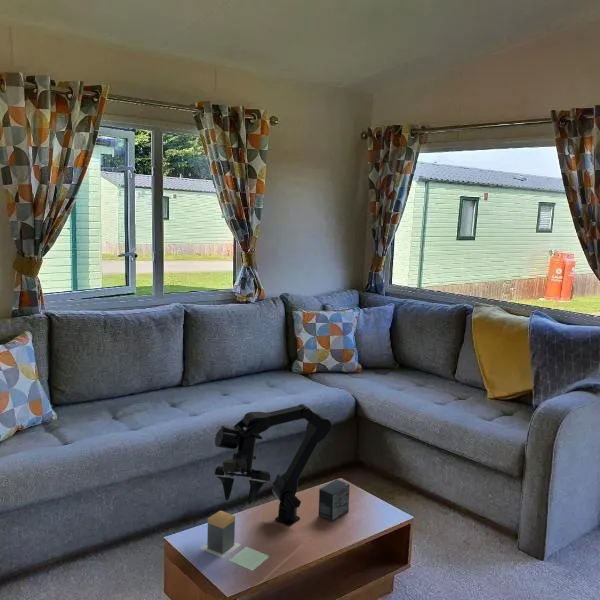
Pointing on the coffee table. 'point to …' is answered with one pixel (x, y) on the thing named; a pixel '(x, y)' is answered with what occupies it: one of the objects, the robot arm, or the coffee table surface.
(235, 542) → the stand
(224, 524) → the cover
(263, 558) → the stand
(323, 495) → the small box
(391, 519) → the coffee table surface
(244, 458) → the robot arm
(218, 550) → the base
